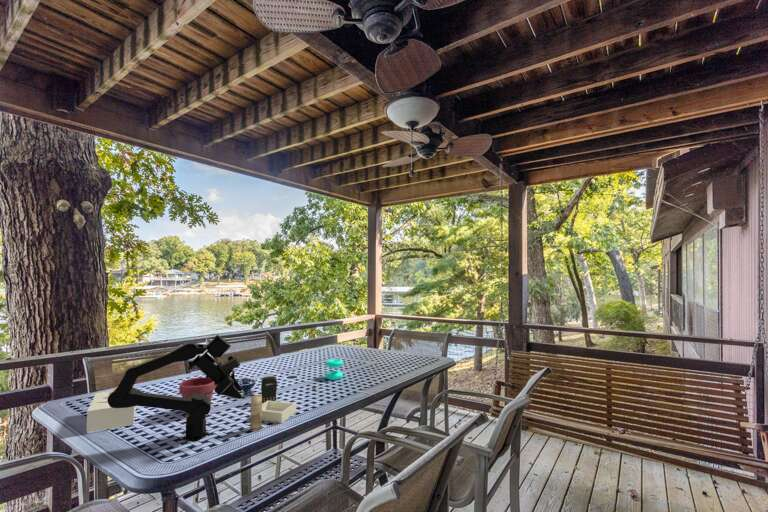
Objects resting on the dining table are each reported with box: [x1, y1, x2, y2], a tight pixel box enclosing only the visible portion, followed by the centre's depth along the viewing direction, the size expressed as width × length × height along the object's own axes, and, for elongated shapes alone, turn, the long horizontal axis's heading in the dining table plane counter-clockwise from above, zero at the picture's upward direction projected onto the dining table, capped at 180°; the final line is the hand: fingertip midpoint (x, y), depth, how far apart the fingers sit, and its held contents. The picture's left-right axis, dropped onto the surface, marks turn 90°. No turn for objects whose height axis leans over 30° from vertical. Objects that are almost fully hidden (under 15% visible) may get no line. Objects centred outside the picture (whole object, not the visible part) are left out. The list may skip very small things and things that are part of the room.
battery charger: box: [260, 375, 278, 404], centre depth 172 cm, size 7×4×11 cm, turn 113°
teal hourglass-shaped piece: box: [325, 358, 344, 381], centre depth 212 cm, size 10×10×10 cm
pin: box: [249, 394, 263, 431], centre depth 142 cm, size 4×4×12 cm
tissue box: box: [86, 386, 138, 431], centre depth 152 cm, size 14×25×11 cm, turn 32°
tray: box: [262, 400, 297, 424], centre depth 155 cm, size 12×14×4 cm
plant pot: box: [178, 376, 216, 415], centre depth 160 cm, size 14×14×13 cm
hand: (241, 394), depth 141 cm, fingers open, 9 cm apart
